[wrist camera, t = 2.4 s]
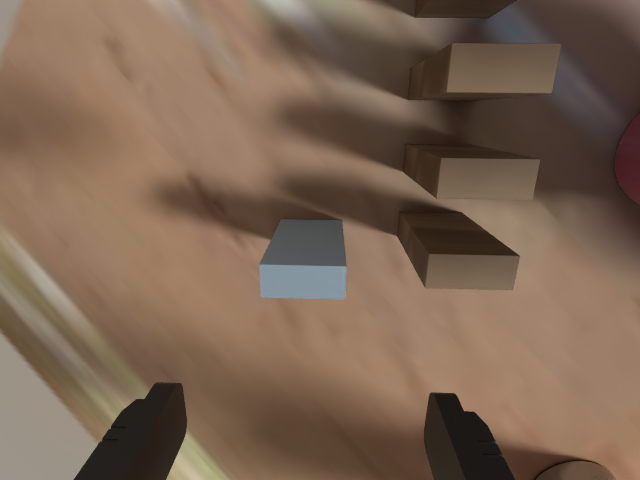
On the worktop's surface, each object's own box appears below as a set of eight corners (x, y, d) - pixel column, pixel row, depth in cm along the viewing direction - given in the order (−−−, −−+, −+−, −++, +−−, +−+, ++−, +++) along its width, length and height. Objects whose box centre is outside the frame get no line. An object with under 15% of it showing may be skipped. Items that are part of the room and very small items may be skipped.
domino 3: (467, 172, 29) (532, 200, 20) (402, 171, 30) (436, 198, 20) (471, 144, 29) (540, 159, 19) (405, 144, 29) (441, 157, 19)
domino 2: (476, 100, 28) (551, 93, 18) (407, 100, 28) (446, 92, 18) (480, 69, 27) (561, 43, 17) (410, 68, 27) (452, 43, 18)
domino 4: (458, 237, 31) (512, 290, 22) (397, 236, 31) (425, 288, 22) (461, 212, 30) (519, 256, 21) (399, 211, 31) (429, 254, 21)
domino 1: (341, 244, 32) (345, 299, 22) (281, 243, 32) (260, 297, 22) (341, 220, 31) (346, 266, 22) (281, 218, 31) (259, 264, 22)
